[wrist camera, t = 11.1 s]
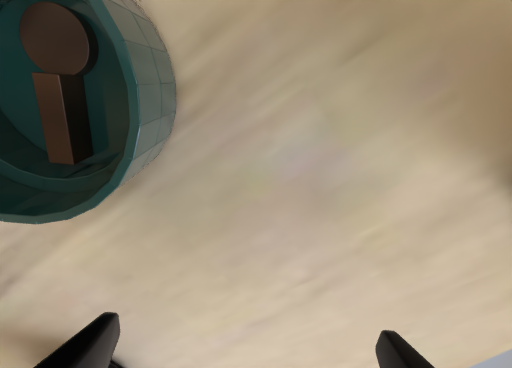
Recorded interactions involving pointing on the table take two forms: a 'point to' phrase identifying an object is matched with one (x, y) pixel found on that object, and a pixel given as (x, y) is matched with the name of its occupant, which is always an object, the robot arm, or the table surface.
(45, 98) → the spoon
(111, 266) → the table surface
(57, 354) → the robot arm
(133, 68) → the bucket
